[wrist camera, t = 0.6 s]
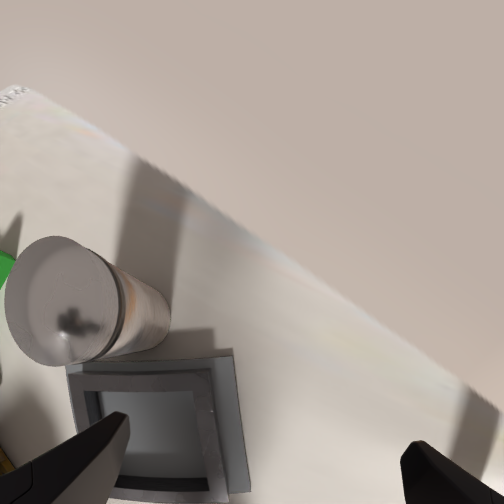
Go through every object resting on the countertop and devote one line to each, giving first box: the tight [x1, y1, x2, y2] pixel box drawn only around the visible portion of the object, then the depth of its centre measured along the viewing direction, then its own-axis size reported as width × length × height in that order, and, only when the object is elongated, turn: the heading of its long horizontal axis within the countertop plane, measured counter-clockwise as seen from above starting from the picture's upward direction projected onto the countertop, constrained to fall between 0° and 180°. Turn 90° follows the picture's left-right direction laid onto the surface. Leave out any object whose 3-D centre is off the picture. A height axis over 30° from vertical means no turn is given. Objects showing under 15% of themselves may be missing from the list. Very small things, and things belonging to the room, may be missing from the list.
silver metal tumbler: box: [5, 236, 171, 367], centre depth 16 cm, size 5×5×13 cm
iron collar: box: [68, 368, 229, 504], centre depth 18 cm, size 11×11×2 cm
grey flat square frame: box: [65, 356, 251, 494], centre depth 20 cm, size 12×14×1 cm
